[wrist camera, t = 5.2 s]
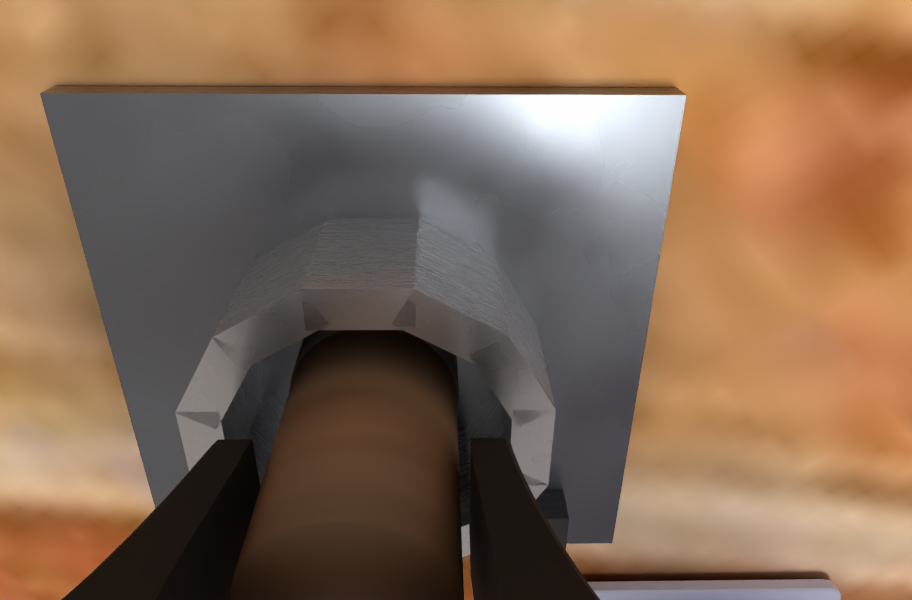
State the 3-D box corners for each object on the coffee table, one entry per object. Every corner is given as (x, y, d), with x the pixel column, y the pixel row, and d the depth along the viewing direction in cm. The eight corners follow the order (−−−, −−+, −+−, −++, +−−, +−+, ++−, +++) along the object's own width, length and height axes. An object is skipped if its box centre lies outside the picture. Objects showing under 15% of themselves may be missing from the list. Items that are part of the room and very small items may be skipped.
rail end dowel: (452, 433, 17) (459, 678, 11) (301, 427, 16) (237, 674, 11) (463, 303, 15) (476, 522, 10) (294, 295, 15) (215, 514, 9)
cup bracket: (607, 525, 20) (639, 644, 17) (173, 530, 19) (122, 650, 16) (677, 87, 14) (746, 142, 11) (55, 85, 14) (-62, 141, 10)
